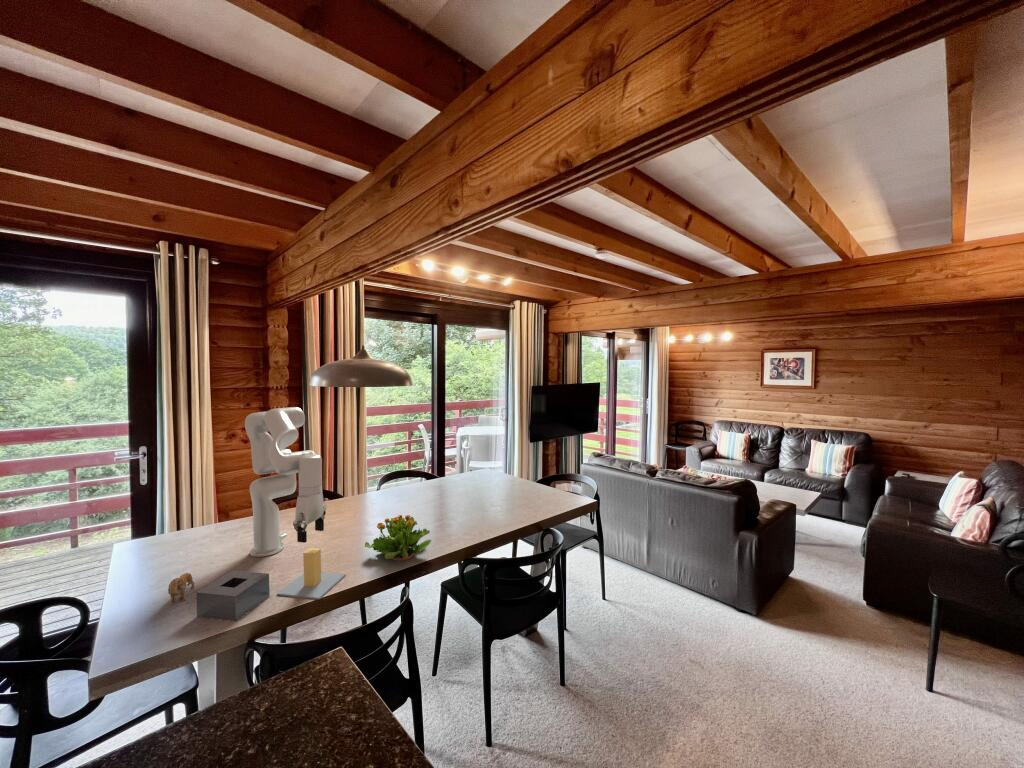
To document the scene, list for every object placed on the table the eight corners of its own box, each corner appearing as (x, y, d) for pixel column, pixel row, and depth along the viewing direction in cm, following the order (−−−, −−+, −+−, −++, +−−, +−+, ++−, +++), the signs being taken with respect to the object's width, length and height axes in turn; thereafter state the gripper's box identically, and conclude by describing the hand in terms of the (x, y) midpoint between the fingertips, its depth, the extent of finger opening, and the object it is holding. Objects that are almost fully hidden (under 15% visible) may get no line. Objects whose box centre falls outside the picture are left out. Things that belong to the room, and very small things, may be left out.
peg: (311, 580, 150) (310, 547, 150) (321, 580, 150) (320, 548, 149) (304, 585, 146) (303, 552, 146) (314, 586, 146) (313, 553, 145)
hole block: (233, 592, 143) (233, 570, 143) (269, 596, 141) (269, 573, 140) (197, 617, 129) (196, 592, 129) (236, 621, 127) (235, 596, 127)
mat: (307, 572, 157) (307, 570, 157) (345, 575, 155) (345, 574, 155) (276, 595, 141) (276, 593, 141) (319, 599, 139) (319, 597, 139)
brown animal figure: (186, 606, 135) (185, 579, 135) (165, 610, 133) (164, 583, 132) (196, 584, 148) (195, 560, 148) (178, 588, 146) (177, 563, 146)
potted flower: (411, 538, 188) (411, 500, 187) (446, 553, 173) (445, 512, 172) (361, 558, 169) (360, 516, 168) (395, 576, 154) (394, 531, 153)
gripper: (316, 481, 156) (316, 525, 157) (283, 496, 139) (284, 545, 140) (334, 483, 155) (334, 527, 156) (304, 498, 137) (304, 548, 139)
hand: (311, 536), depth 148 cm, fingers open, 9 cm apart
